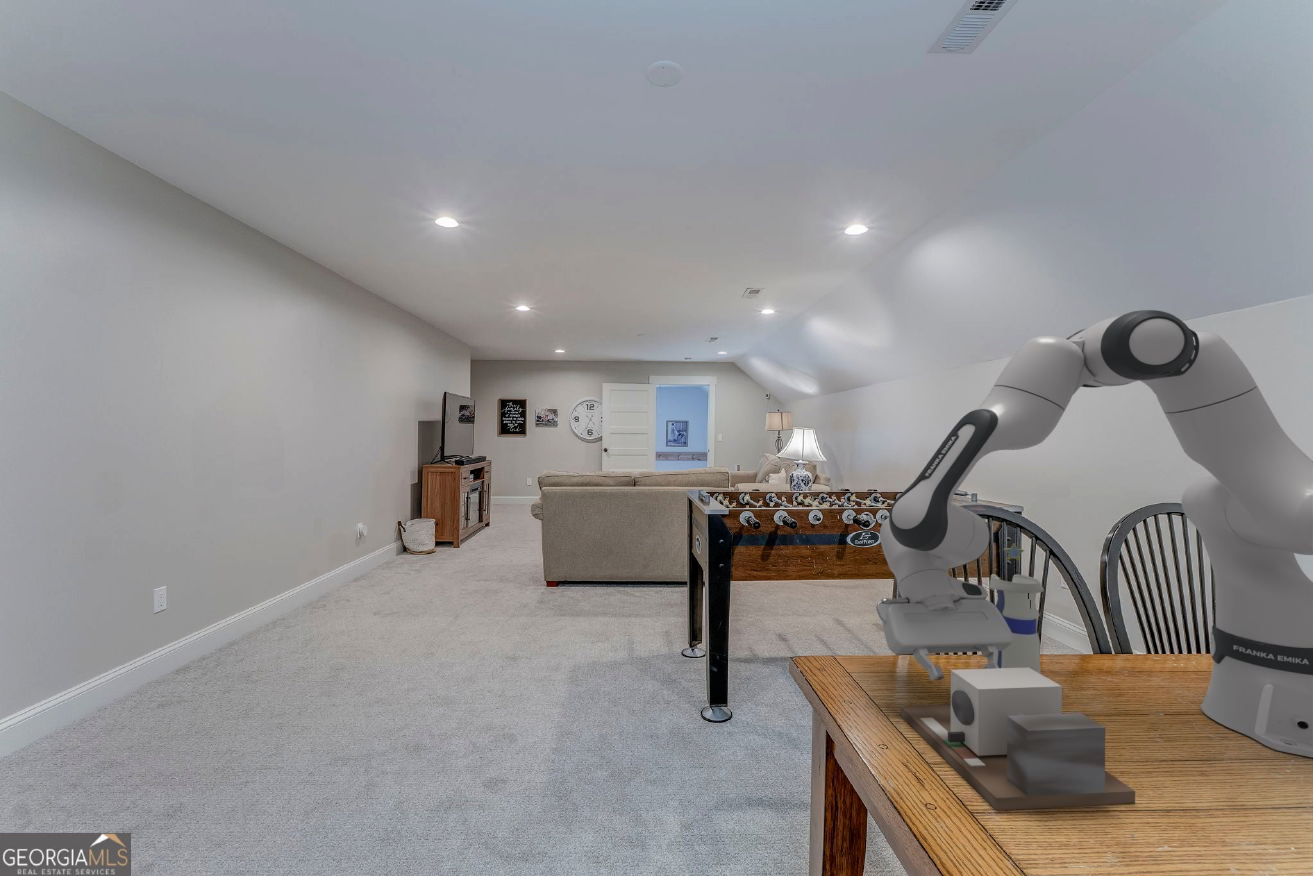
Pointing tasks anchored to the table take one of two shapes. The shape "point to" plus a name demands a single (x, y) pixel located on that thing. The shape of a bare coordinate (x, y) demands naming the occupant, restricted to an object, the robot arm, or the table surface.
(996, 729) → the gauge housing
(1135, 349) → the robot arm
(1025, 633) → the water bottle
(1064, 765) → the gauge stand
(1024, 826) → the table surface
